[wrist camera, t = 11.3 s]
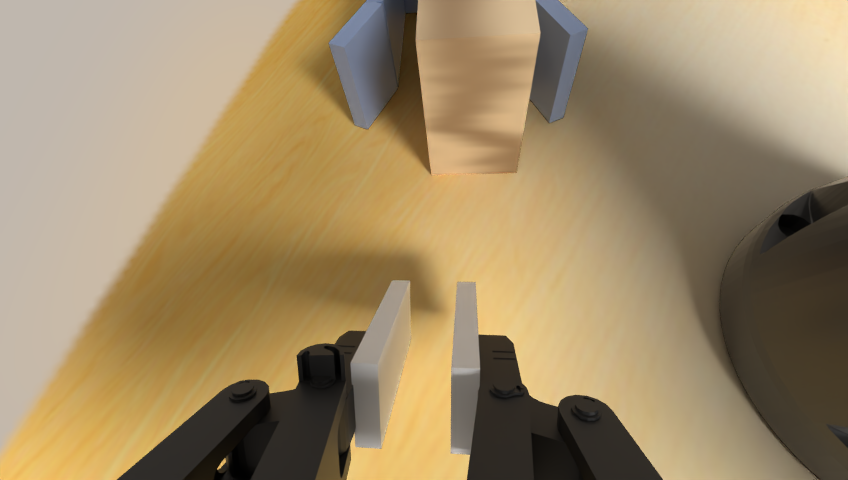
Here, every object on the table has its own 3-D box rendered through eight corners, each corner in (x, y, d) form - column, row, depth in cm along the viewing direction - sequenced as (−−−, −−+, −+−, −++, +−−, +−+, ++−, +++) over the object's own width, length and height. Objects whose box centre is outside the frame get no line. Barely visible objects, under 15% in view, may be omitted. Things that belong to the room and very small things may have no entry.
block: (503, 41, 30) (517, -110, 22) (516, 173, 24) (540, 32, 16) (435, 45, 31) (424, -102, 23) (431, 176, 25) (415, 40, 17)
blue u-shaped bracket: (542, -4, 32) (558, -96, 27) (564, 122, 26) (589, 34, 21) (373, 7, 33) (356, -79, 28) (354, 129, 27) (327, 48, 22)
